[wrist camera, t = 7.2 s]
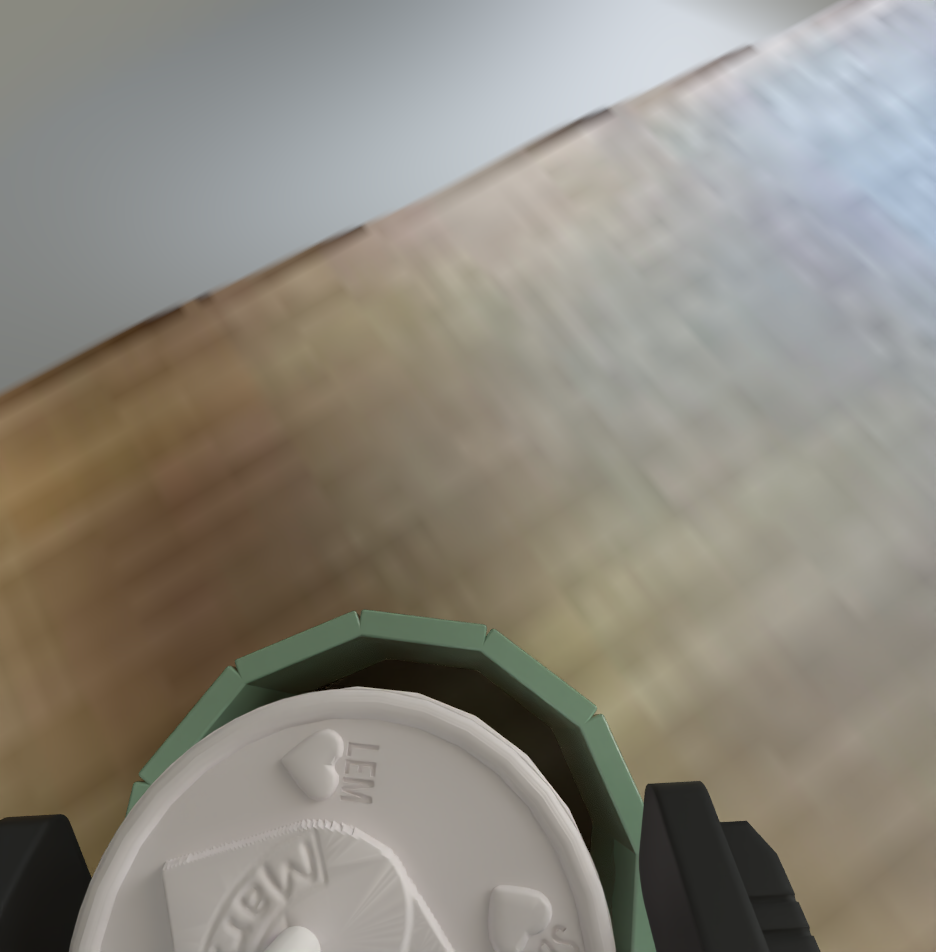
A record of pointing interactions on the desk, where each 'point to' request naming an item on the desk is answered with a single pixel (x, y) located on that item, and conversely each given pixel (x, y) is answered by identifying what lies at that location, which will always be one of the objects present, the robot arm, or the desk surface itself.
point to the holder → (460, 646)
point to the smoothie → (348, 841)
